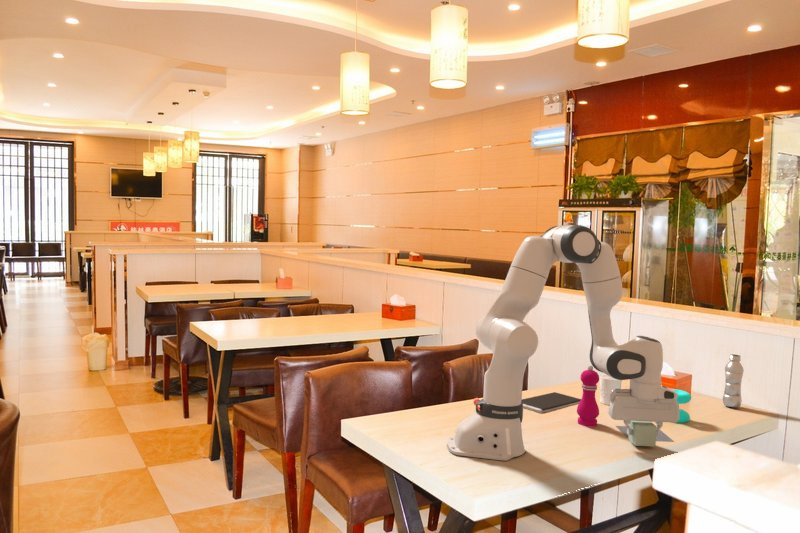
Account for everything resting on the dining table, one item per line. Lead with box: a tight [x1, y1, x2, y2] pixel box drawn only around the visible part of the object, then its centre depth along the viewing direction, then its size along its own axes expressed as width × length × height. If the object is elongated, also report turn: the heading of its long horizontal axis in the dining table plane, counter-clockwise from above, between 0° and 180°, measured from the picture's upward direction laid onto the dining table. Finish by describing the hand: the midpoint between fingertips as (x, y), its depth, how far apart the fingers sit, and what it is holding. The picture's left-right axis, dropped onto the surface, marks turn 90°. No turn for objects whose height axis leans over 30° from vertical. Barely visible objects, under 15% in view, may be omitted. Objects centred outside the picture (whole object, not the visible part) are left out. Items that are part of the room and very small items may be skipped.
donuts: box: [671, 388, 692, 424], centre depth 217 cm, size 10×10×10 cm
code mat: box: [615, 425, 675, 443], centre depth 200 cm, size 14×14×1 cm
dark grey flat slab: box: [522, 391, 582, 414], centre depth 232 cm, size 13×27×2 cm, turn 131°
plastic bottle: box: [722, 353, 744, 409], centre depth 236 cm, size 6×7×20 cm
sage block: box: [627, 421, 657, 447], centre depth 187 cm, size 6×6×6 cm
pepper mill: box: [576, 365, 600, 428], centre depth 207 cm, size 7×7×20 cm
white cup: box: [599, 374, 623, 406], centre depth 235 cm, size 8×8×10 cm
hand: (642, 434), depth 188 cm, fingers closed on sage block, 6 cm apart
